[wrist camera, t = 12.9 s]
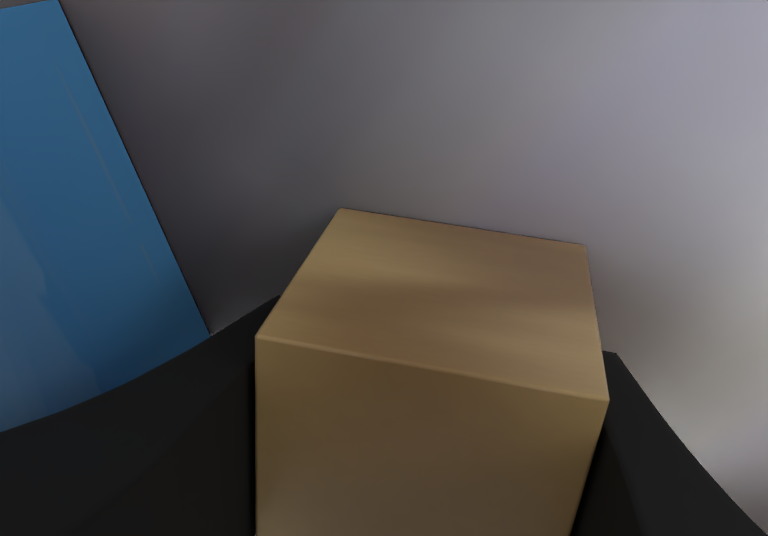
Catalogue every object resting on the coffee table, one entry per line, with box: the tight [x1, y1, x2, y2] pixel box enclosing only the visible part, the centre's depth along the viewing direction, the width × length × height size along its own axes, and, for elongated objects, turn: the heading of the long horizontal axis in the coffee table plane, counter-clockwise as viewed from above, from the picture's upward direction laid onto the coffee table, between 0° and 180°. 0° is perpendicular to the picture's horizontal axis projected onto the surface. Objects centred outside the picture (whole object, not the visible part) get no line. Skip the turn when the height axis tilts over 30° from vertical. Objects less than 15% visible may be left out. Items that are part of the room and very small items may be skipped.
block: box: [255, 208, 610, 536], centre depth 10 cm, size 4×4×4 cm
